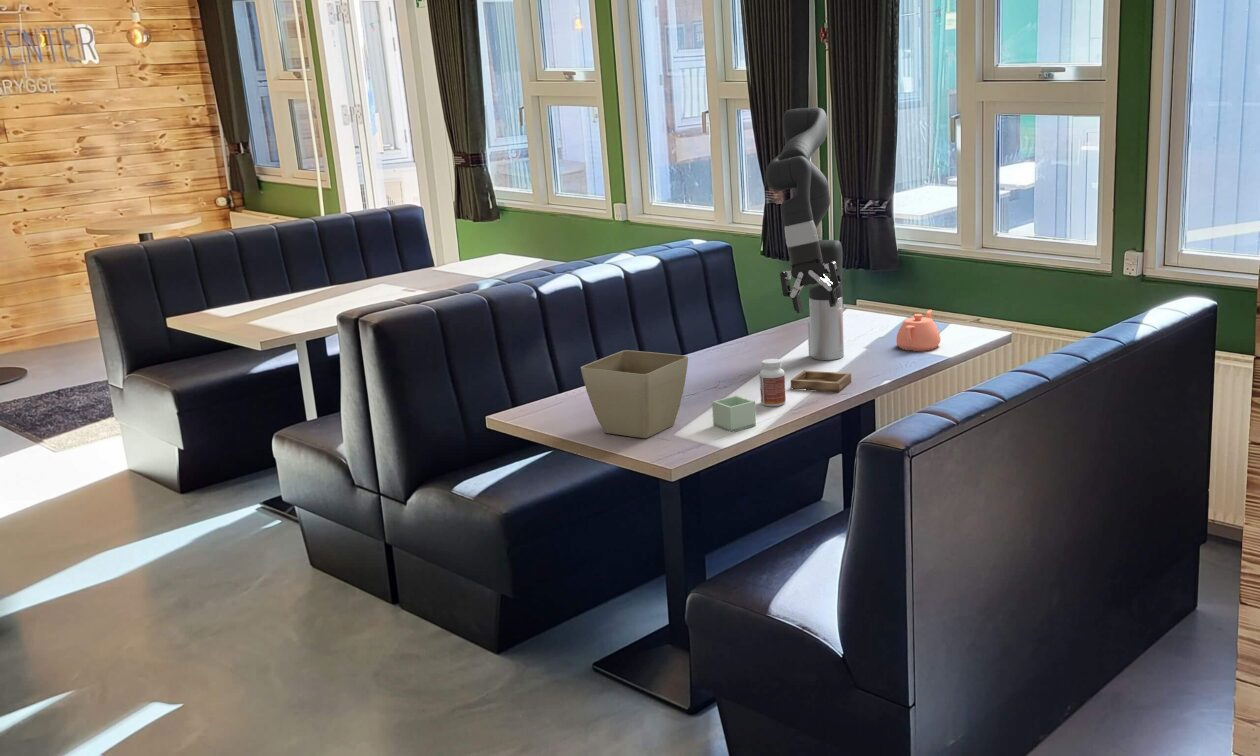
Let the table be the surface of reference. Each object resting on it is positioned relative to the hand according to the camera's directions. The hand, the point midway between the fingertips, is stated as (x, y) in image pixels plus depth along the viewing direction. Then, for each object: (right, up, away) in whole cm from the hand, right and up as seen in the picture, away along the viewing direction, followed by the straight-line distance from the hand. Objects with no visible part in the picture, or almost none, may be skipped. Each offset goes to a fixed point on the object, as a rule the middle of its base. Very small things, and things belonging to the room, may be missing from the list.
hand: (816, 309), depth 291 cm
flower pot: (-42, -29, +3) cm, 51 cm away
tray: (+6, -18, +29) cm, 34 cm away
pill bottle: (-8, -23, +16) cm, 29 cm away
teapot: (+39, -7, +62) cm, 74 cm away
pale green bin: (-19, -28, 0) cm, 34 cm away
